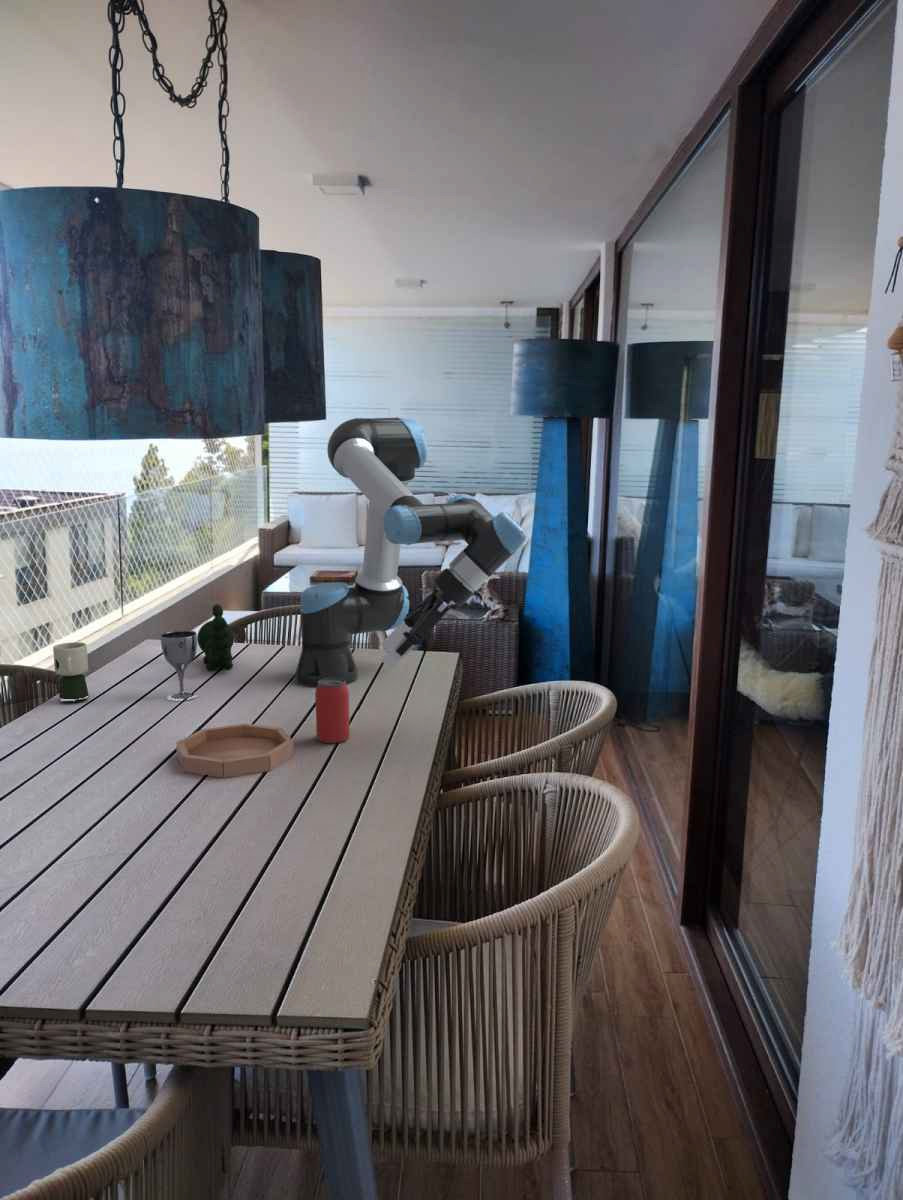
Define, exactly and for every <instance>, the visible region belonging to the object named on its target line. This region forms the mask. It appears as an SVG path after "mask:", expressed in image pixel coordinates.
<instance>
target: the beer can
mask: <svg viewBox="0 0 903 1200" xmlns="http://www.w3.org/2000/svg"><path fill="white" fill-rule="evenodd" d="M349 692H350V691H349V688H348V685H347V684H346V681H345V680H344V679H341V678H325V679H321V680H319V681H318V685H317V686H316V688H315V693H314V694H315V695H314V696H315V726H316V727H315V728H316V738H317V740H318V741H319V742H321V743H324V744H339V743H343V742H346V741H347V740H348V739H349V738H350V737H351V736H350V735H351V733H350V732H351V729H350V726H351V725H350V698H349V697H350V695H349V694H350V693H349Z"/></svg>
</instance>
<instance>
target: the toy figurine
mask: <svg viewBox="0 0 903 1200" xmlns="http://www.w3.org/2000/svg"><path fill="white" fill-rule="evenodd" d="M223 614H224V609H223V607H222V605H220V604H219V603H217V604H214V605H213V606H212V615H213V617H214V618H213V619H212V620H209V621H207V622H206V623H204V624H203V625H201V627H200V628H199V630H198V632H197V645H198V646H199V648H200V650H201V651H202V652H203V653H204V657H203V659H202V662H203V663H204V665H205V668H206V670H207V671H209V670H210V672H211V671H212V672H214V671H216V670H217V669H218V670H219V669H221V670H223V669H225V670H231V669H232V668H233V666H234V663H233V659H234V658H233V655H232V647H233V646H234V644H235V643H234V641H235V634H234V631H233V628H232V627H231V626H230V625H229V624H228V622H227V621H226V618H225V617H223Z"/></svg>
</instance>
